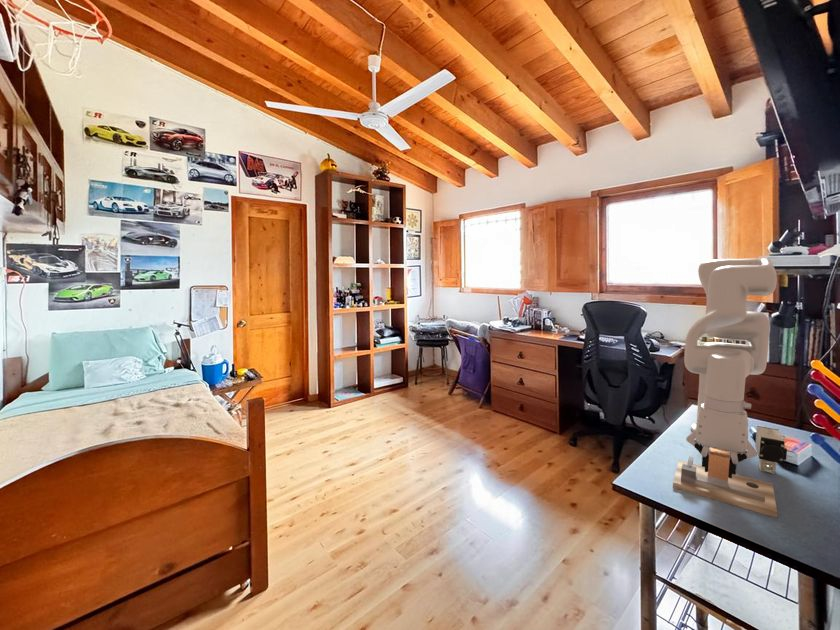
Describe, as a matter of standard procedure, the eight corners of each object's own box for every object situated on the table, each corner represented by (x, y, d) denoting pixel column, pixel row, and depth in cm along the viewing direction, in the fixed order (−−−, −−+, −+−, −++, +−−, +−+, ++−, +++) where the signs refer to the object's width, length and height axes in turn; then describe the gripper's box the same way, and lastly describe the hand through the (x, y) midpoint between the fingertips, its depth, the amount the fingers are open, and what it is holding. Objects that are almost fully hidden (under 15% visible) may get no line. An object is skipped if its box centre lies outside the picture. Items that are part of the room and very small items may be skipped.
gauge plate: (678, 464, 110) (679, 448, 109) (771, 489, 97) (773, 470, 97) (672, 487, 99) (673, 469, 99) (776, 517, 87) (778, 497, 86)
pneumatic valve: (758, 477, 103) (762, 435, 101) (753, 458, 112) (756, 420, 110) (786, 483, 99) (790, 440, 98) (778, 464, 109) (782, 424, 107)
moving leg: (708, 471, 103) (710, 440, 101) (727, 476, 100) (729, 444, 99) (706, 487, 96) (709, 453, 95) (727, 492, 93) (729, 458, 92)
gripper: (768, 406, 91) (761, 477, 93) (683, 393, 101) (679, 457, 104) (770, 416, 85) (763, 491, 87) (680, 401, 96) (676, 468, 98)
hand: (718, 472), depth 96 cm, fingers closed on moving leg, 4 cm apart
